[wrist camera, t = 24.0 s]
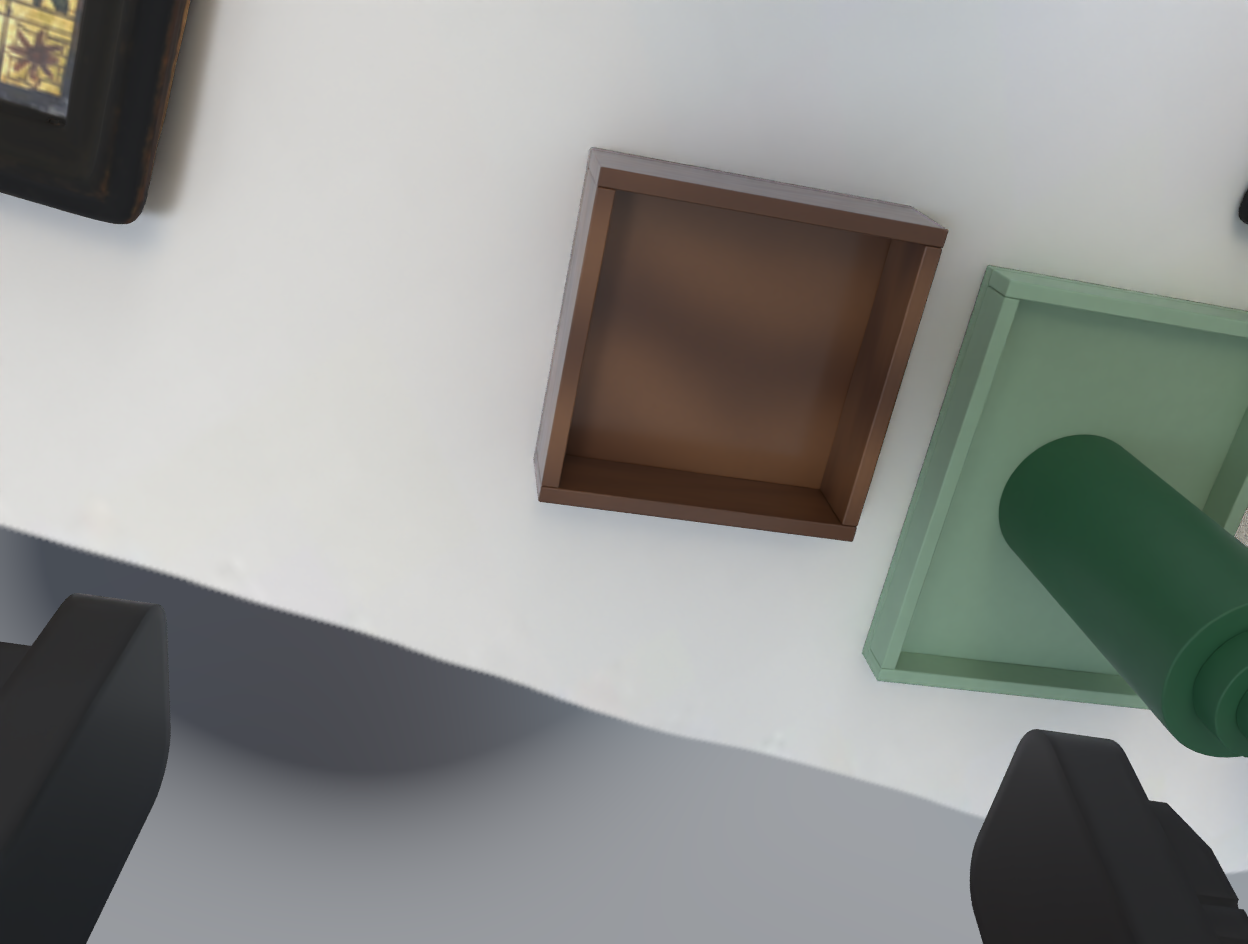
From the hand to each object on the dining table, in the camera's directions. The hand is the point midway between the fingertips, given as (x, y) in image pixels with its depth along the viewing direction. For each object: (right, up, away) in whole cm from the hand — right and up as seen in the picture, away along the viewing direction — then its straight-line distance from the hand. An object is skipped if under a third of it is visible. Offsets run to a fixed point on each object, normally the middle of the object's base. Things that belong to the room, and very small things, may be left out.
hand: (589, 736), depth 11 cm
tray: (+17, +2, +35) cm, 39 cm away
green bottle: (+17, +1, +34) cm, 38 cm away
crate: (+4, +7, +30) cm, 31 cm away
